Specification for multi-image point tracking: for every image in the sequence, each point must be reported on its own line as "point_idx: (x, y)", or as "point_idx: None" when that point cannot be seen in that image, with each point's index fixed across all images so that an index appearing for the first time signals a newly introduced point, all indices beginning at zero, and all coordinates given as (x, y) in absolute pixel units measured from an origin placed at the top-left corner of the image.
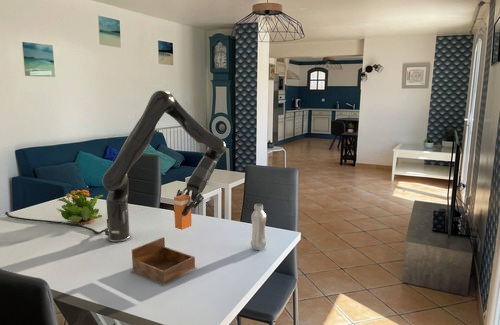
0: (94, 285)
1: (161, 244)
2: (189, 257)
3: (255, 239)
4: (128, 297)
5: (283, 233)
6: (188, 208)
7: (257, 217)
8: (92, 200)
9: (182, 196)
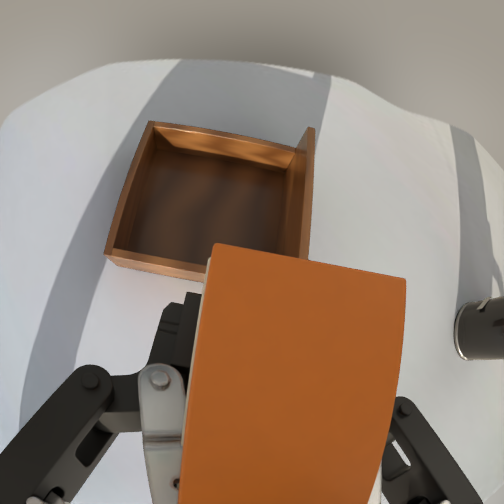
0: (311, 100)
1: None
2: (126, 251)
3: None
4: (203, 84)
5: None
6: (150, 358)
7: None
8: None
9: (300, 414)
